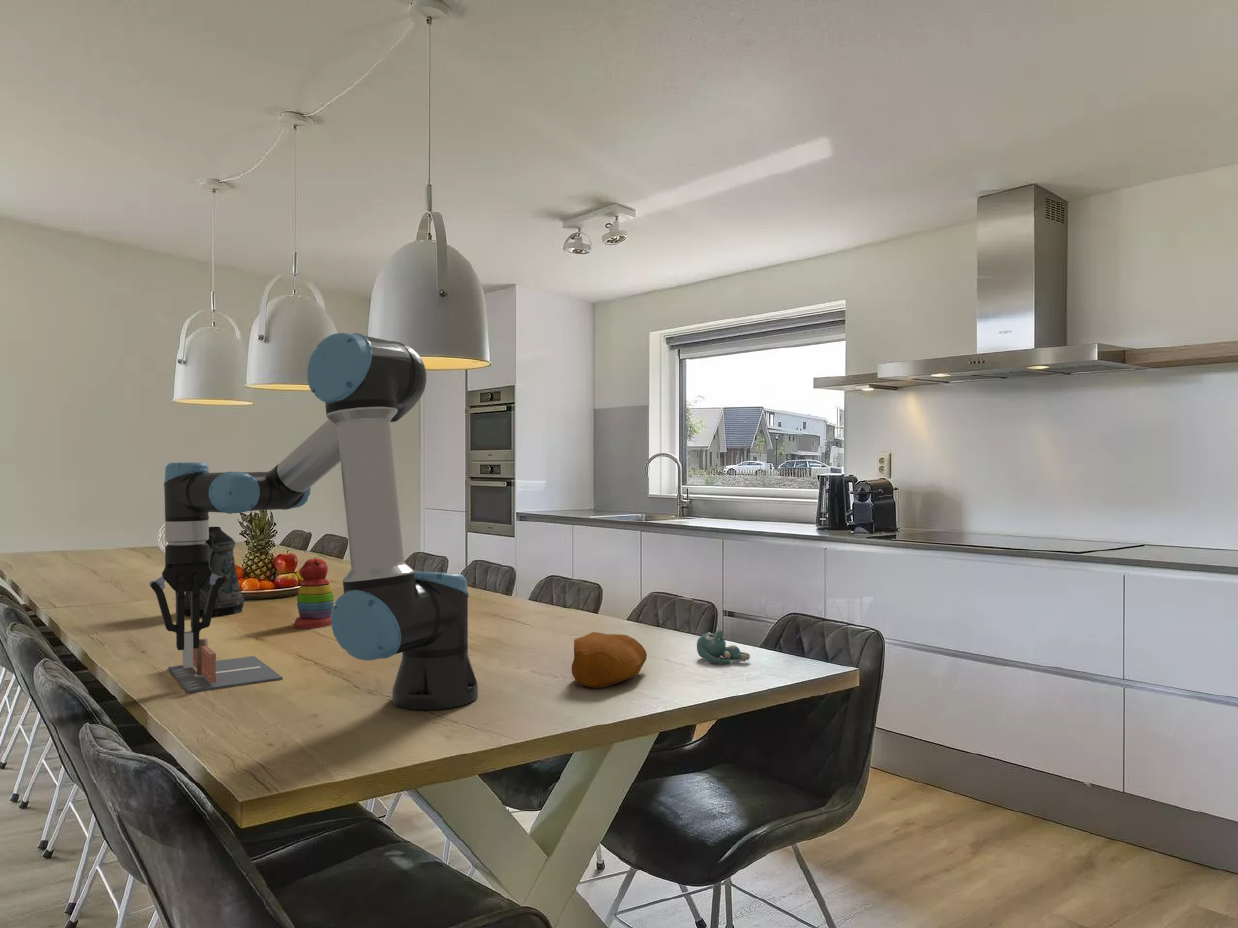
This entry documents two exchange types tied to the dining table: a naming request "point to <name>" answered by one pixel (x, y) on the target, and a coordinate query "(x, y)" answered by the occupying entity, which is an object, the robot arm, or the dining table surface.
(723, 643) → the stuffed animal
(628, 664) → the bread
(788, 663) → the dining table surface
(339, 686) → the dining table surface
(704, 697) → the dining table surface
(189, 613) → the beer stein
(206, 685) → the mat
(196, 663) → the fixed panel
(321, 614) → the stacking bear
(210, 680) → the hinged panel
